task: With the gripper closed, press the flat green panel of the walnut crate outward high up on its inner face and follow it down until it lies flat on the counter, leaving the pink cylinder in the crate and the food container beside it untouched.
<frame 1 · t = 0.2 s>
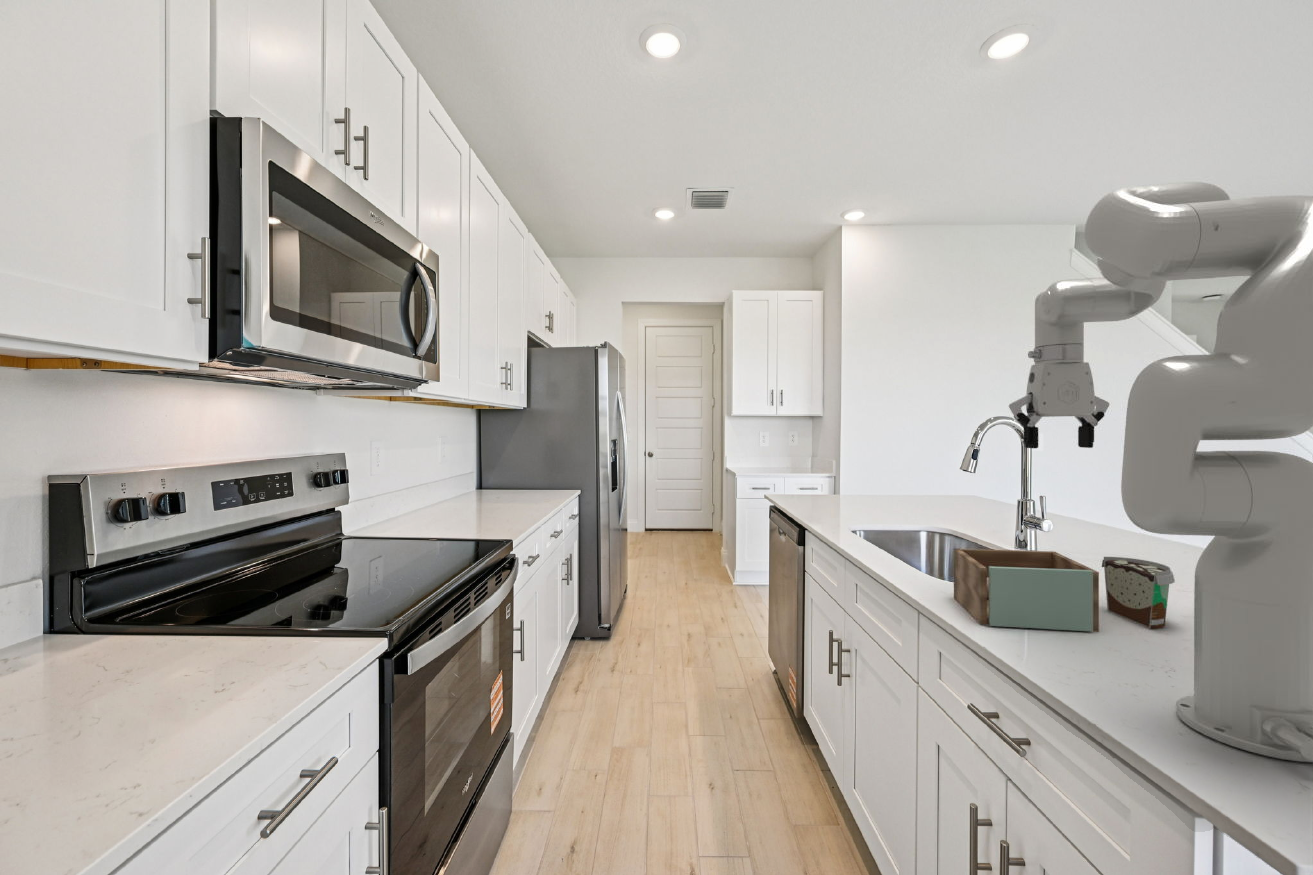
hand: (1058, 447, 107), 30 cm above the countertop, tool pointing down, fingers open, 9 cm apart
food container: (1145, 621, 101), on the countertop
pink cylinder: (1010, 599, 110), resting on crate
crate: (1021, 614, 104), on the countertop
flat green panel: (1039, 598, 97), point 5 cm above the countertop, hinge at 0.0°
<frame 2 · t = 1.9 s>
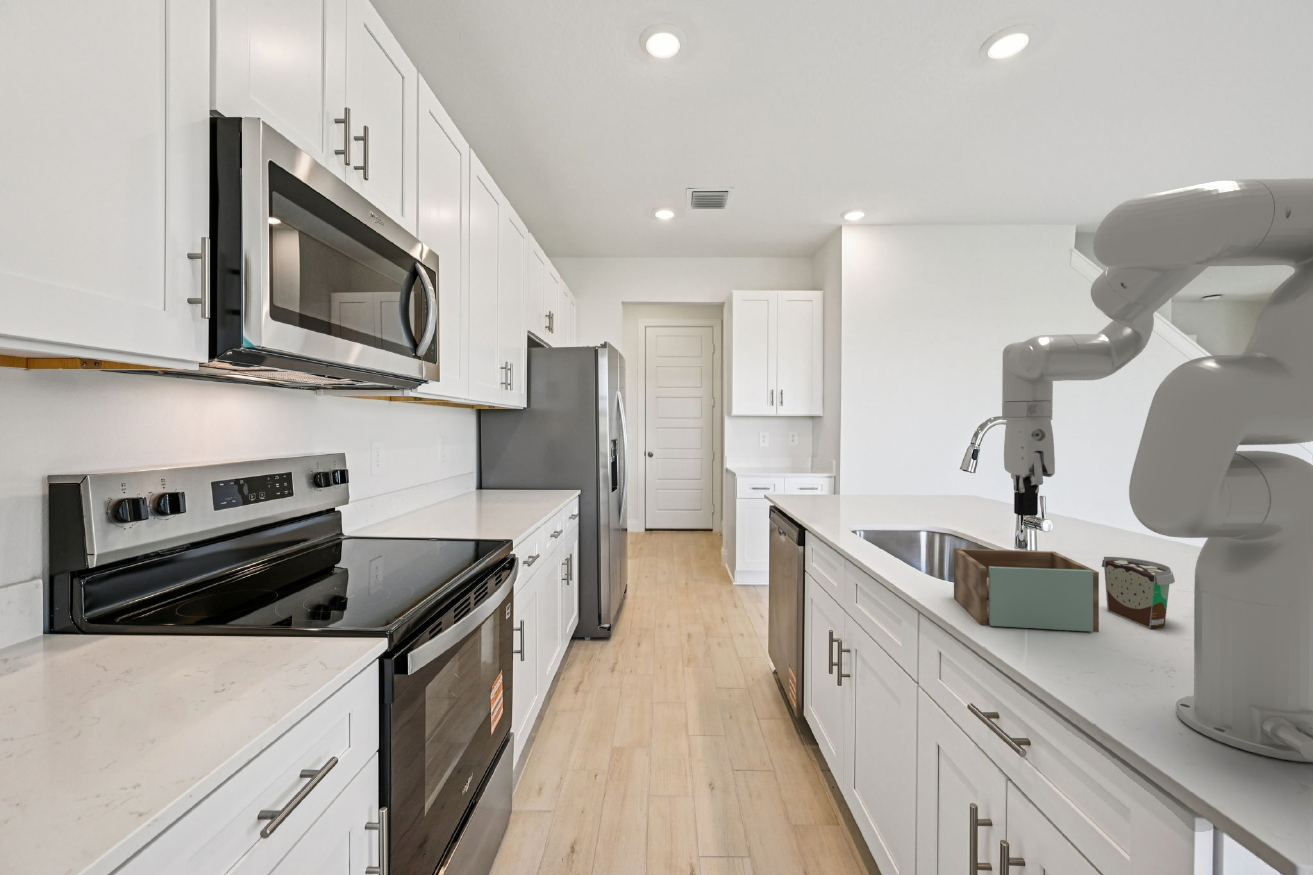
hand: (1025, 514, 102), 19 cm above the countertop, tool pointing down, fingers closed
nothing on the countertop moved.
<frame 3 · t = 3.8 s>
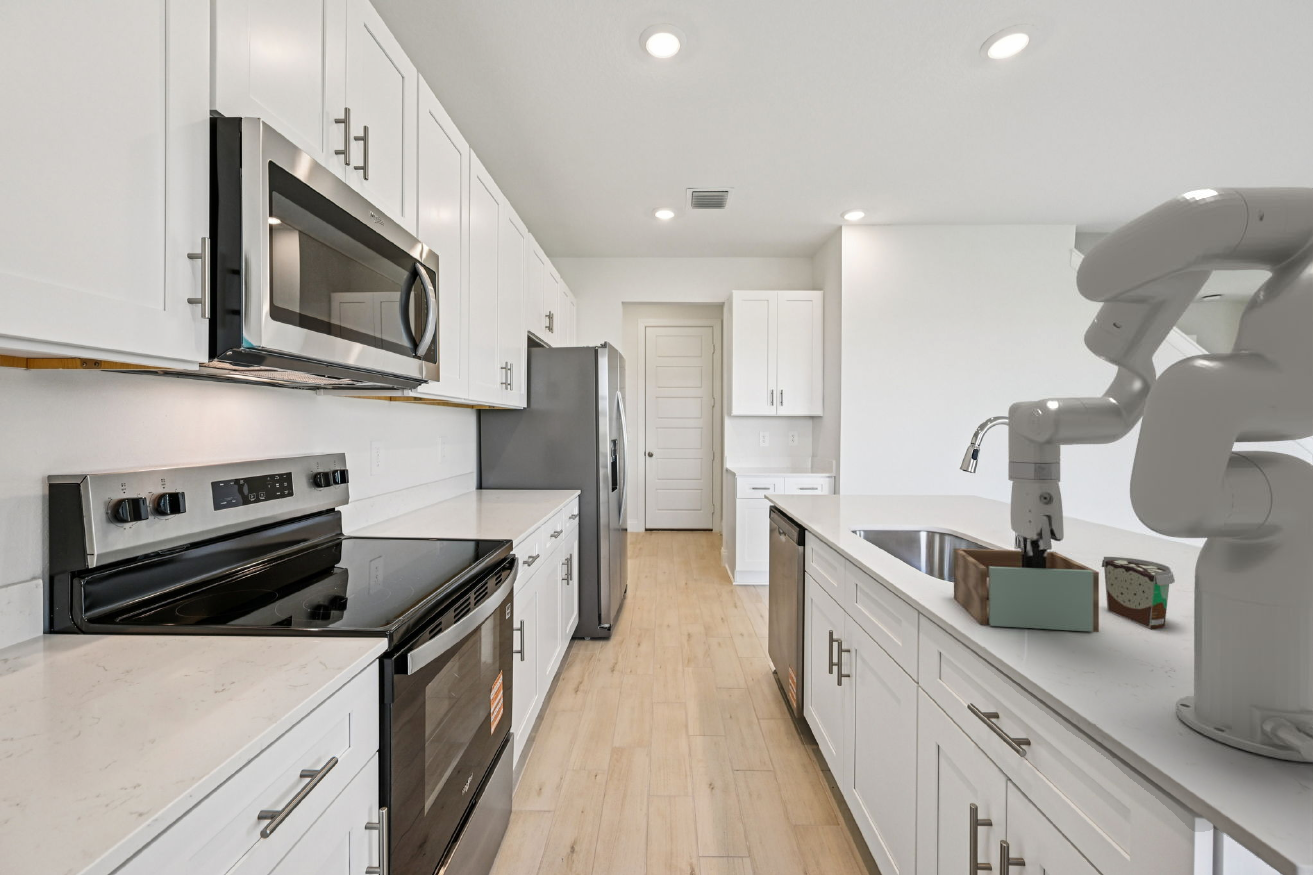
hand: (1033, 577, 99), 8 cm above the countertop, tool pointing down, fingers closed
flat green panel: (1039, 598, 97), point 5 cm above the countertop, hinge at 0.6°, touching gripper
everything else where it was.
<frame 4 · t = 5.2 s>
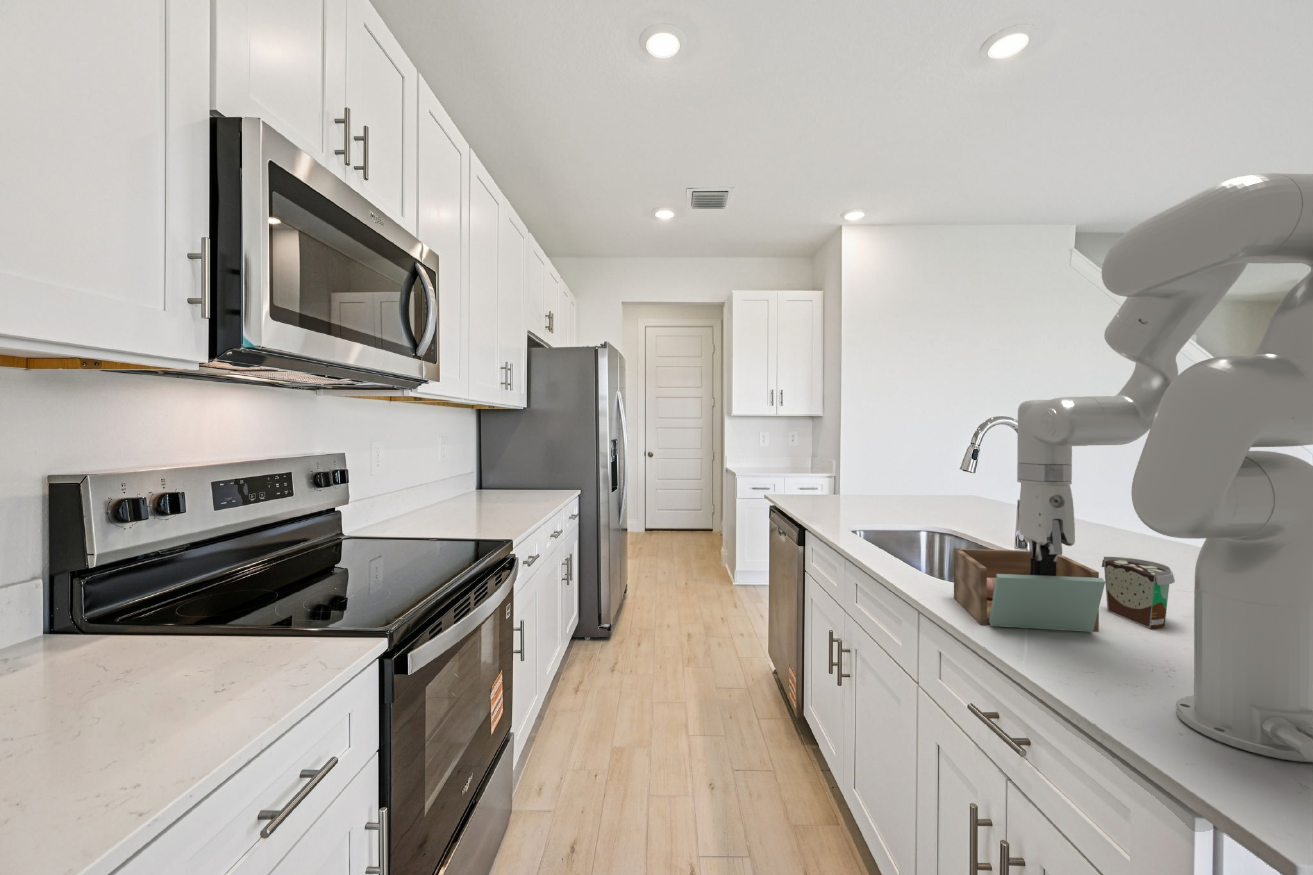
hand: (1042, 583, 95), 8 cm above the countertop, tool pointing down, fingers closed
flat green panel: (1044, 602, 95), point 5 cm above the countertop, hinge at 21.8°, touching gripper
everything else where it was.
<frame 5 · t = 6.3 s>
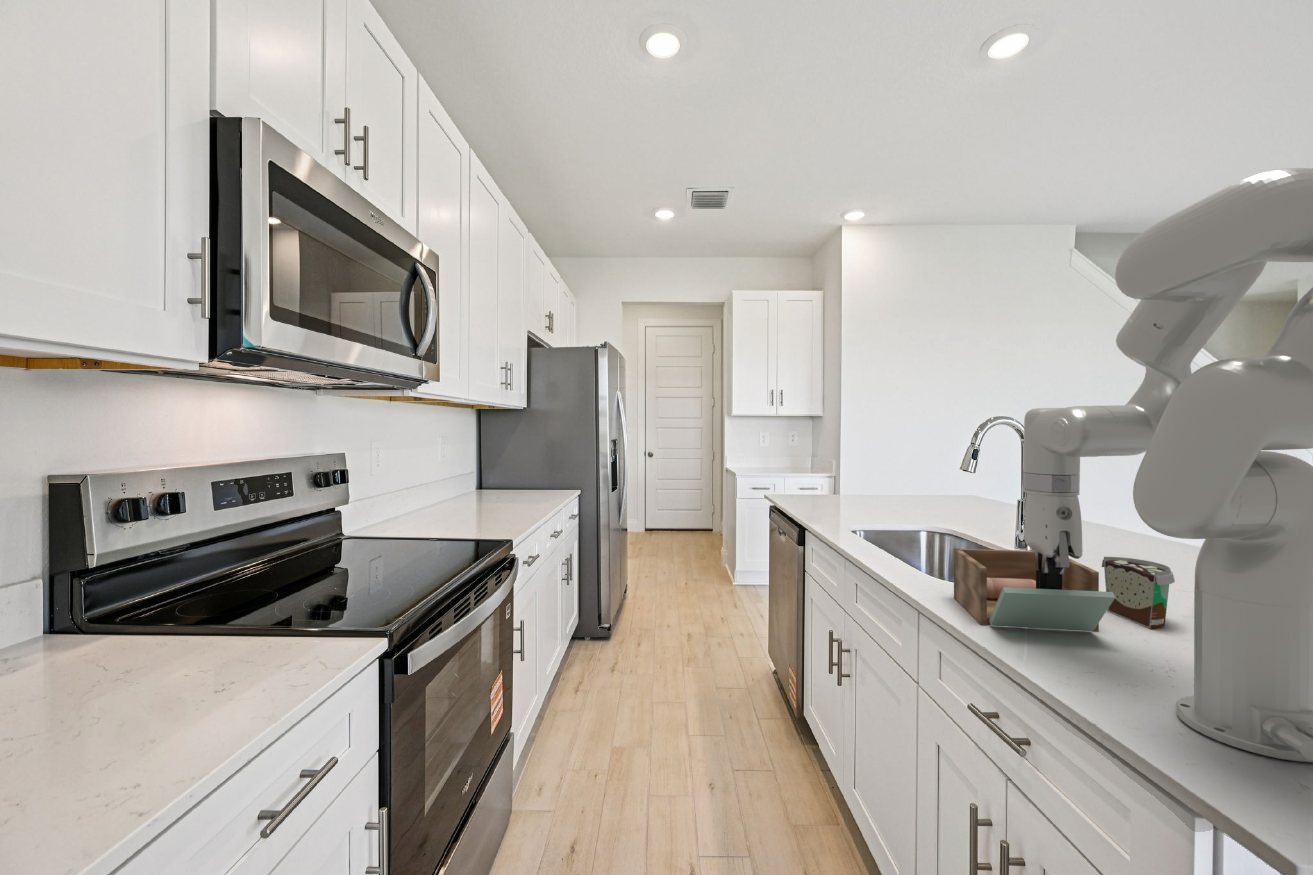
hand: (1048, 595, 93), 7 cm above the countertop, tool pointing down, fingers closed
flat green panel: (1048, 609, 94), point 4 cm above the countertop, hinge at 40.7°, touching gripper
everything else where it was.
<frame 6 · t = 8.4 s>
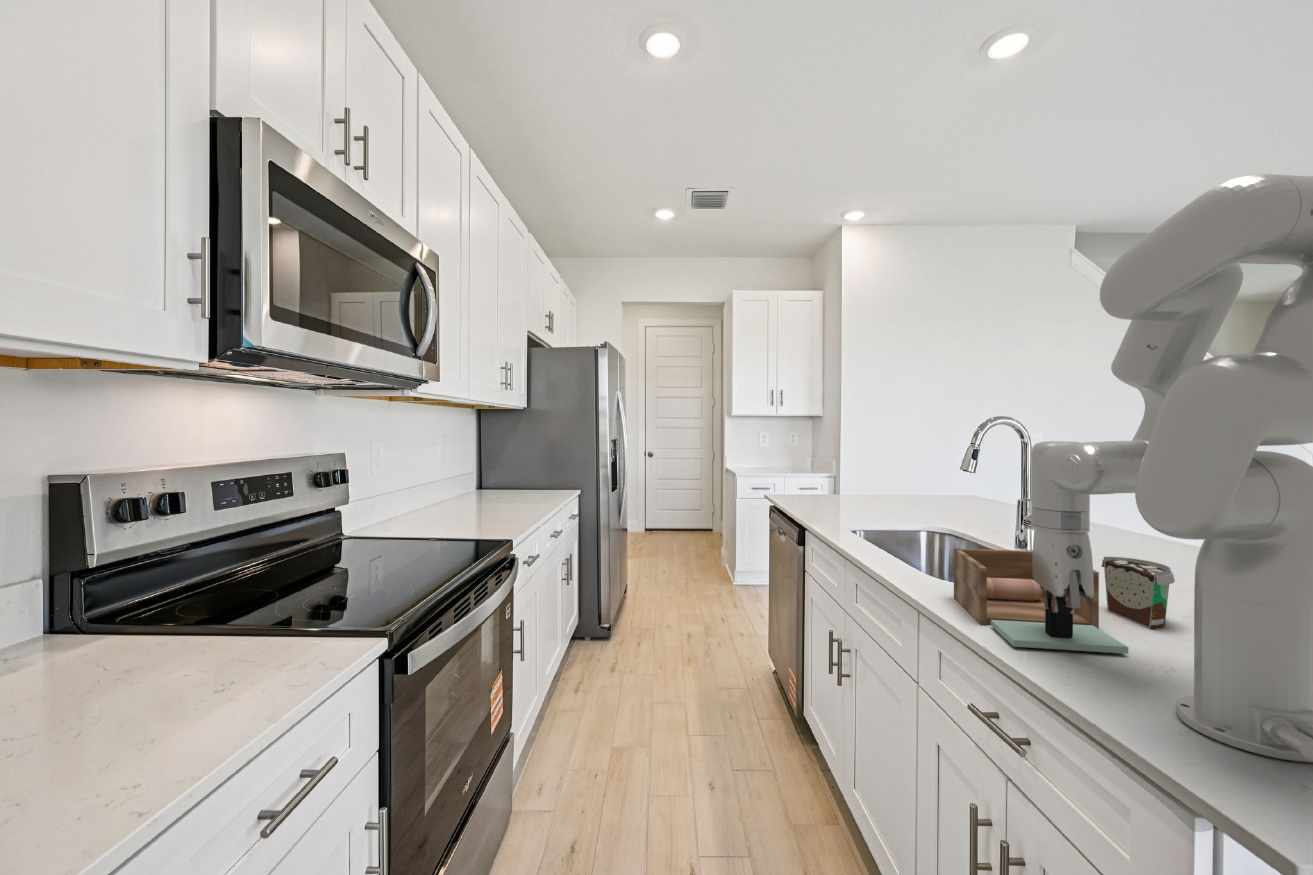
hand: (1058, 635, 90), 2 cm above the countertop, tool pointing down, fingers closed
flat green panel: (1054, 635, 92), point 1 cm above the countertop, hinge at 88.9°, touching gripper
everything else where it was.
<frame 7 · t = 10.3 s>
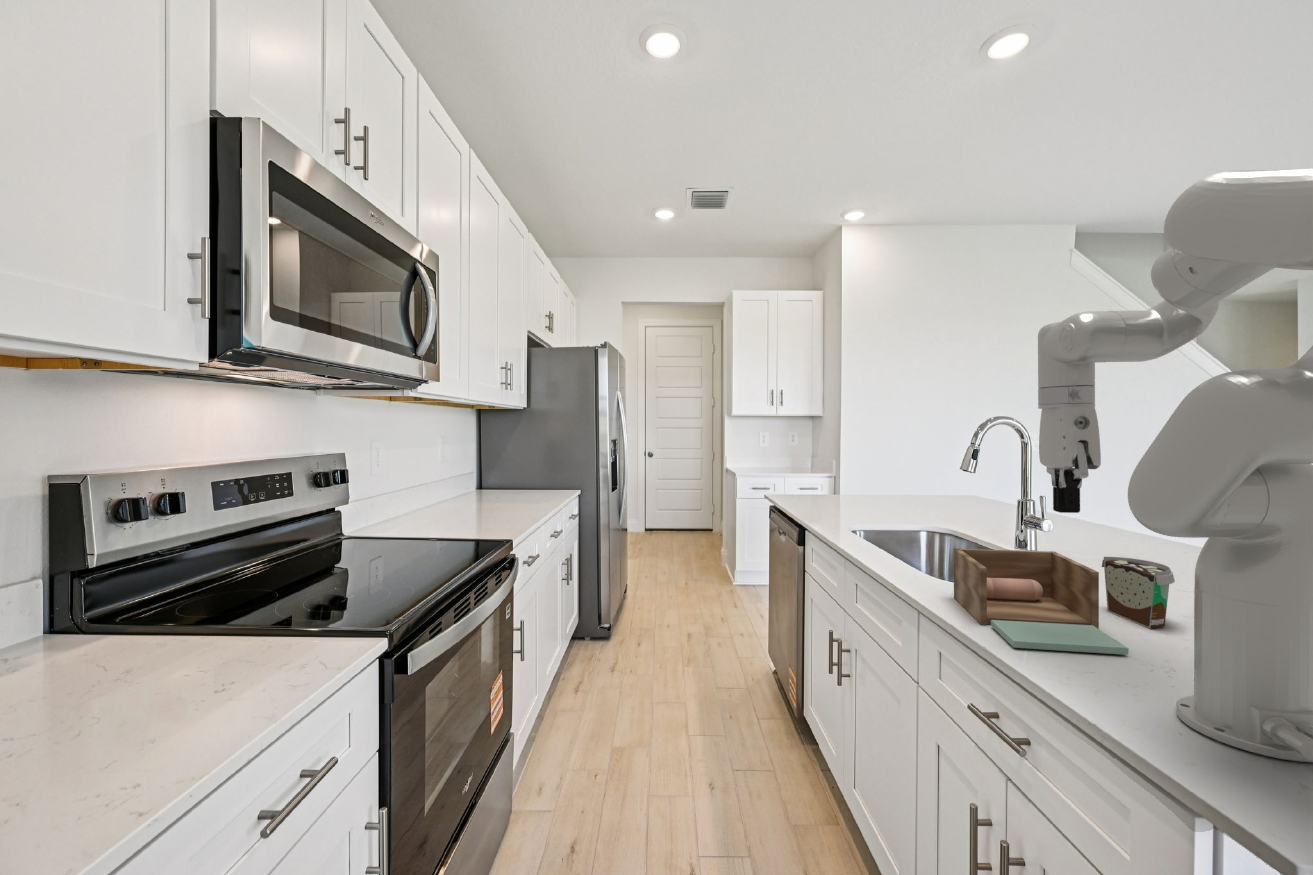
hand: (1066, 511, 93), 21 cm above the countertop, tool pointing down, fingers closed
flat green panel: (1054, 636, 92), point 1 cm above the countertop, hinge at 89.8°
everything else where it was.
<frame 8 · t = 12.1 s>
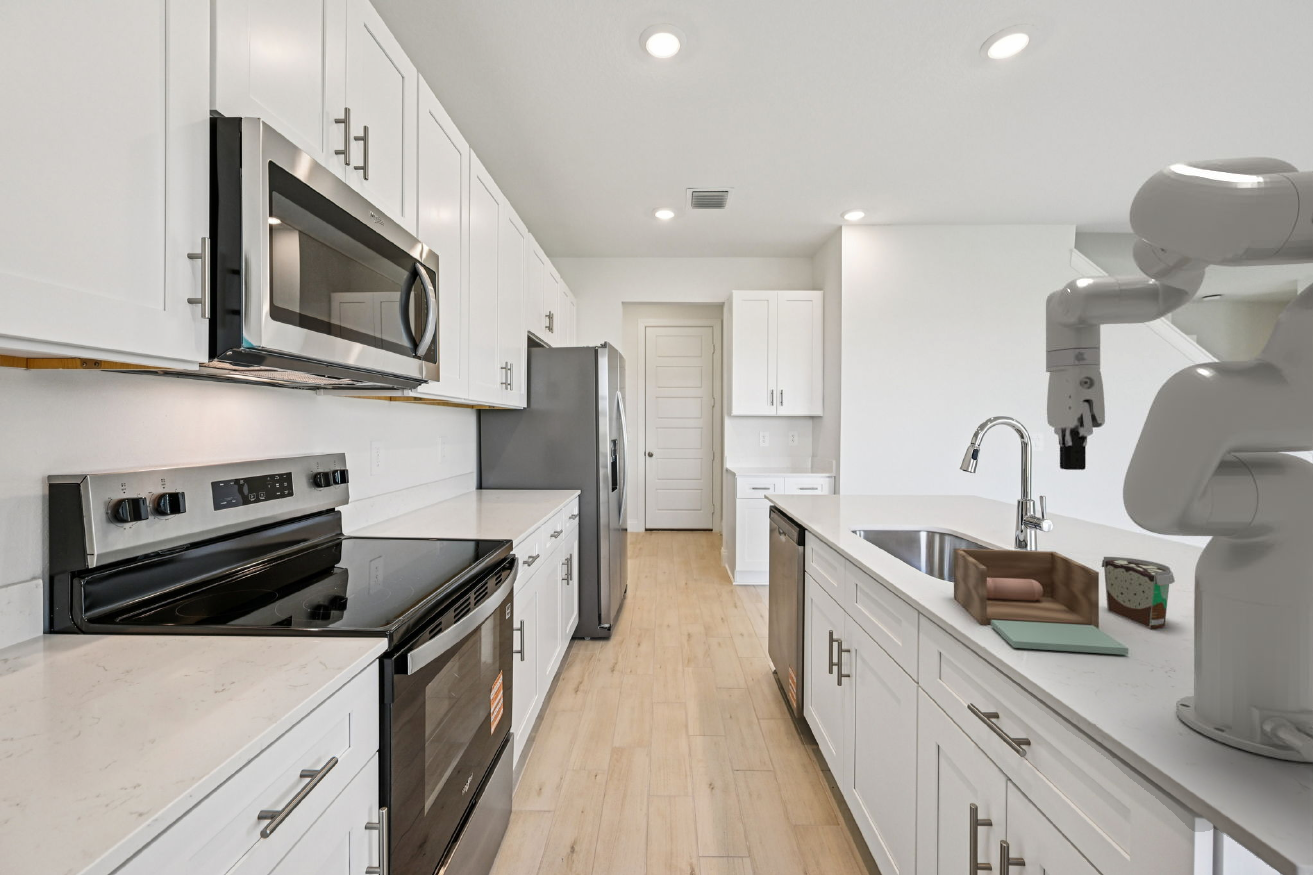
hand: (1072, 469, 98), 27 cm above the countertop, tool pointing down, fingers closed
nothing on the countertop moved.
at the end: flat green panel at +90° (first picture: +0°); food container moved 0.2 cm from its start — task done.
